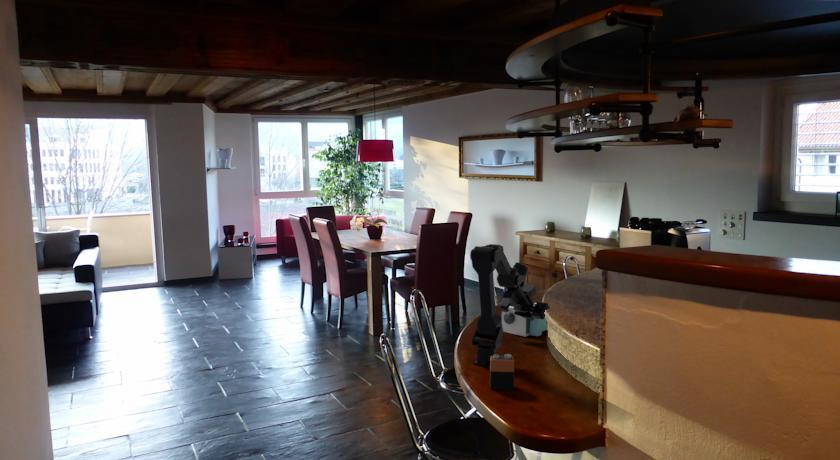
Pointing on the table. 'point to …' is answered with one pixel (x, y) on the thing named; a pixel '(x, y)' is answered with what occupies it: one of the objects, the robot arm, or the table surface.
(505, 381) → the battery
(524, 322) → the camera body
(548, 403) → the table surface
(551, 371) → the table surface
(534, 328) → the side door
